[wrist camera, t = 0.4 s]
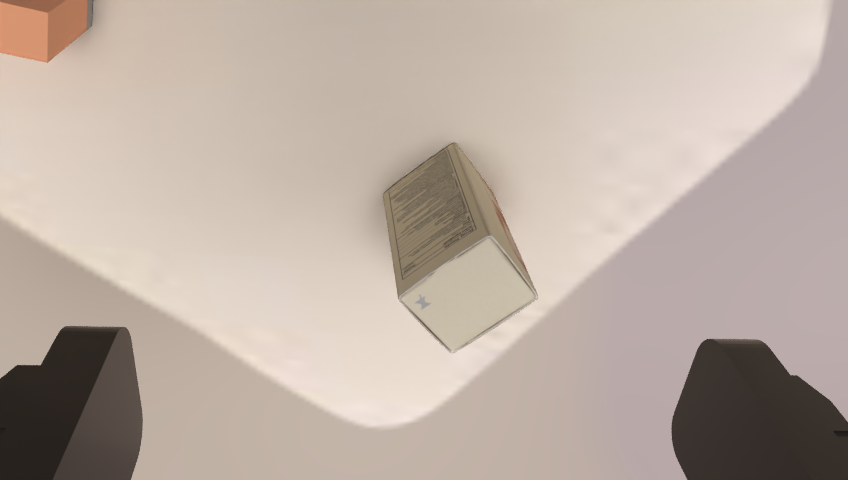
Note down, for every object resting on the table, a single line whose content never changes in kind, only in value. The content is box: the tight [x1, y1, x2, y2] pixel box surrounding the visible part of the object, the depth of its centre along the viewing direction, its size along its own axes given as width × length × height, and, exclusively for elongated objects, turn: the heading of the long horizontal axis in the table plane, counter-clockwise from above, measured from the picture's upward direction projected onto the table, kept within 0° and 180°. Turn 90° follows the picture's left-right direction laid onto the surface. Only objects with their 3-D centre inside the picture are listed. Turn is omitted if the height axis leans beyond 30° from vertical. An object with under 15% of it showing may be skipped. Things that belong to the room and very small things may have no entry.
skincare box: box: [383, 144, 538, 353], centre depth 36 cm, size 5×4×10 cm
